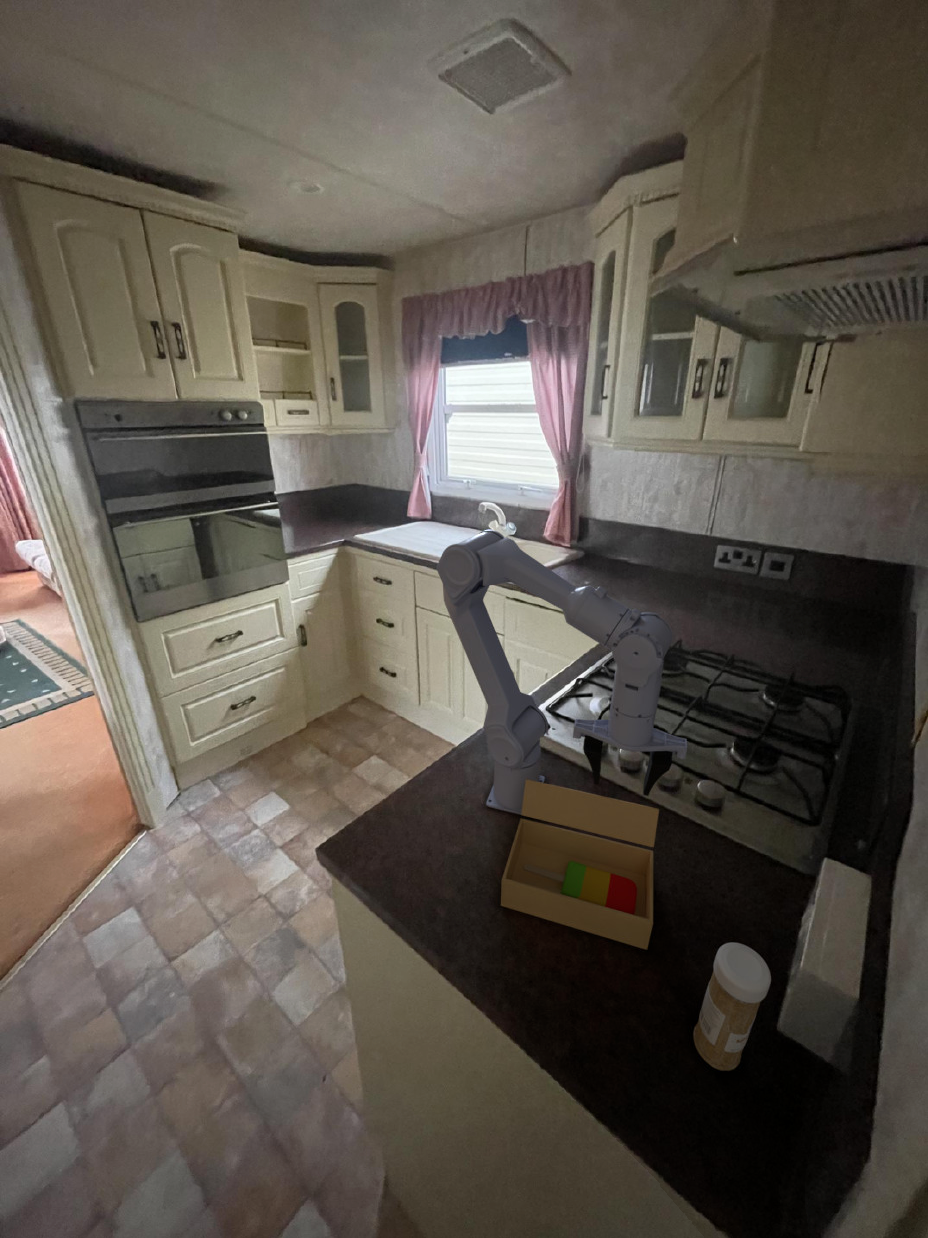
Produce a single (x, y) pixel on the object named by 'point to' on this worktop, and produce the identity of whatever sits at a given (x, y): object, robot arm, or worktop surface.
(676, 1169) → the worktop surface
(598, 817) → the flap
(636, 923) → the carton
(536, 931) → the worktop surface
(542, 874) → the popsicle
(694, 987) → the worktop surface
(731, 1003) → the sprinkles bottle
